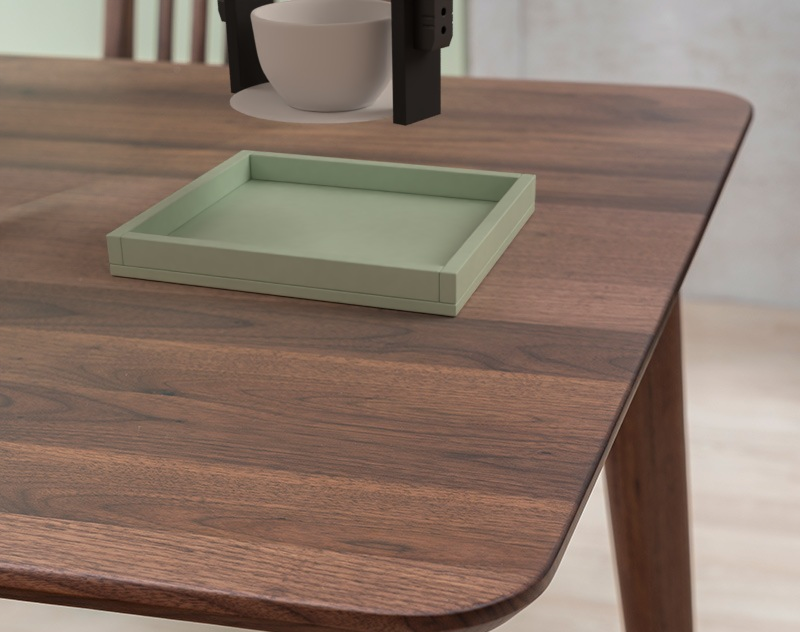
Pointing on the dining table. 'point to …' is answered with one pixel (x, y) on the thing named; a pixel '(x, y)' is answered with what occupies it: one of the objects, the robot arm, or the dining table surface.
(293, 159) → the tray
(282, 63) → the teacup
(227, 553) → the dining table surface
